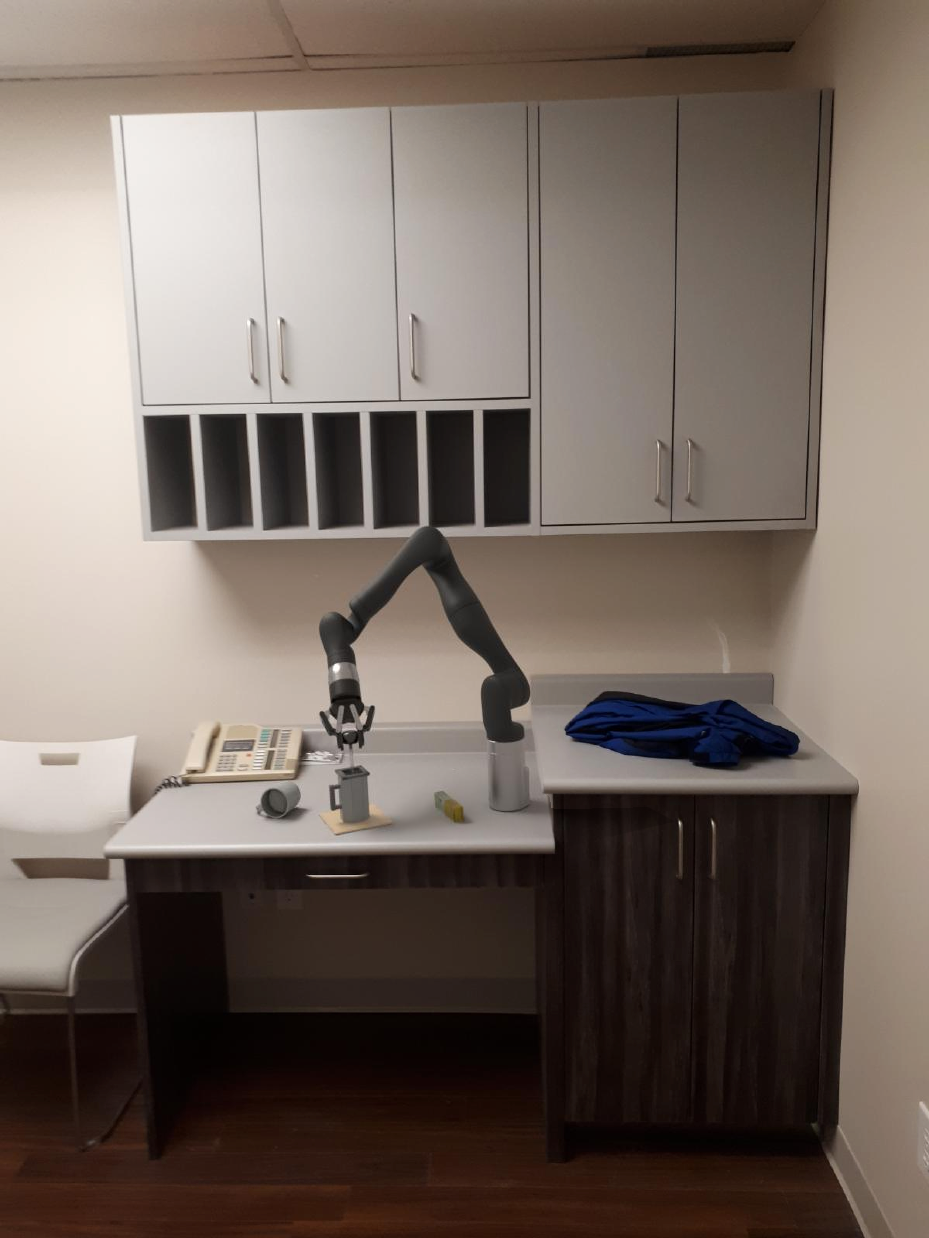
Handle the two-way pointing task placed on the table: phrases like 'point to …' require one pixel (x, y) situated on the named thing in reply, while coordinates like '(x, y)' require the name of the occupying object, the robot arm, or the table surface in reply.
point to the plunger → (350, 745)
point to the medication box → (449, 806)
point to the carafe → (352, 804)
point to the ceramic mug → (279, 799)
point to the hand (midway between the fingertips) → (351, 747)
